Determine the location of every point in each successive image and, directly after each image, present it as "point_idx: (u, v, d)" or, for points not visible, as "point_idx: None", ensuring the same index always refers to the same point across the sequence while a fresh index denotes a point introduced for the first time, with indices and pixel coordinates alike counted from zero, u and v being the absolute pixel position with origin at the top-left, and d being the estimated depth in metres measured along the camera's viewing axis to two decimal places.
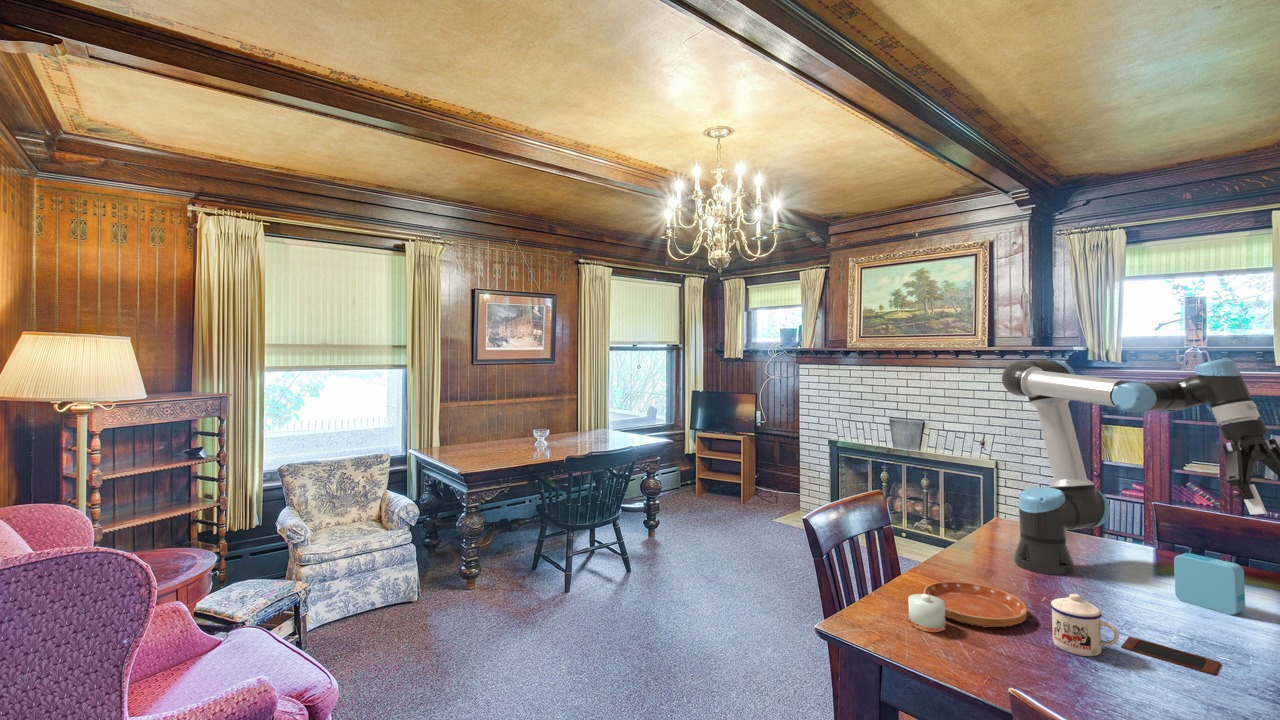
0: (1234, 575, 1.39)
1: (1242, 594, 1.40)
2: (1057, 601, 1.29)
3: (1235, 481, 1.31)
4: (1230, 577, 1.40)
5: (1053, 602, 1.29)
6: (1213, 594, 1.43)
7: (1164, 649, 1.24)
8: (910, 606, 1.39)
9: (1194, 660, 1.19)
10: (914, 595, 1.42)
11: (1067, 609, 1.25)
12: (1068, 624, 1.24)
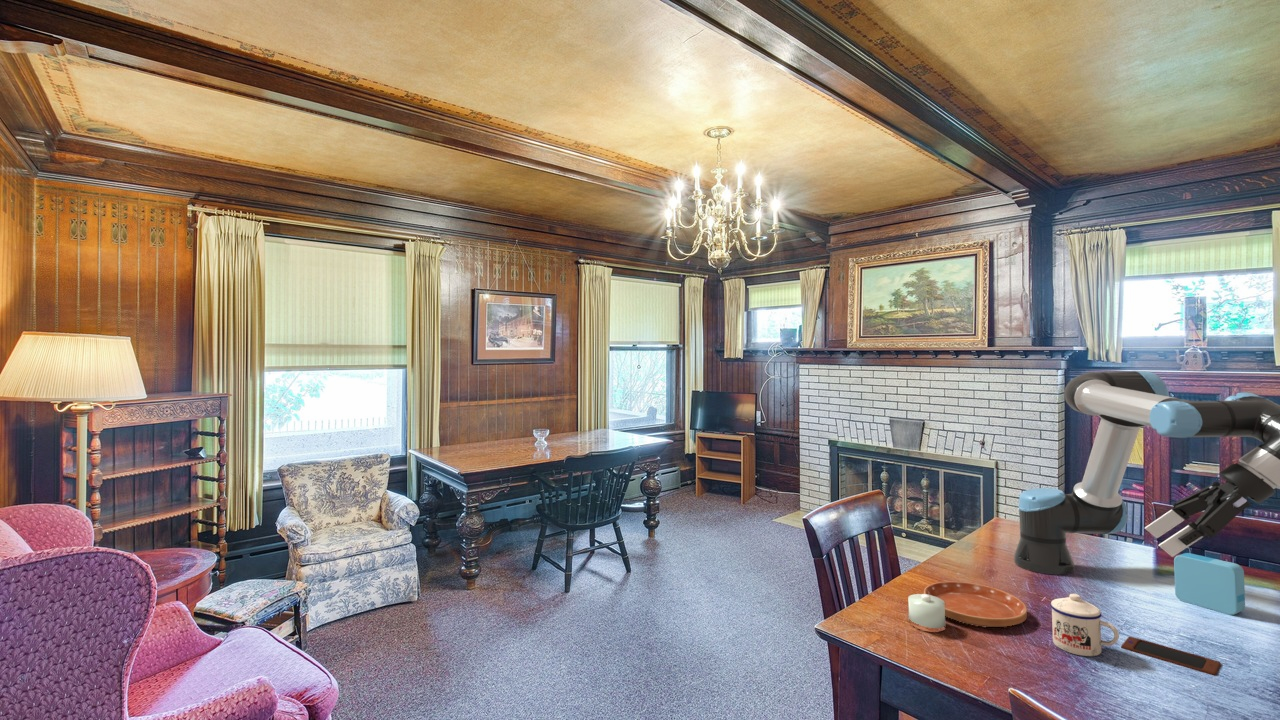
0: (1234, 575, 1.39)
1: (1242, 594, 1.40)
2: (1057, 601, 1.29)
3: (1207, 533, 1.07)
4: (1230, 577, 1.40)
5: (1053, 602, 1.29)
6: (1213, 594, 1.43)
7: (1164, 649, 1.24)
8: (910, 606, 1.39)
9: (1194, 660, 1.19)
10: (914, 595, 1.42)
11: (1067, 609, 1.25)
12: (1068, 624, 1.24)
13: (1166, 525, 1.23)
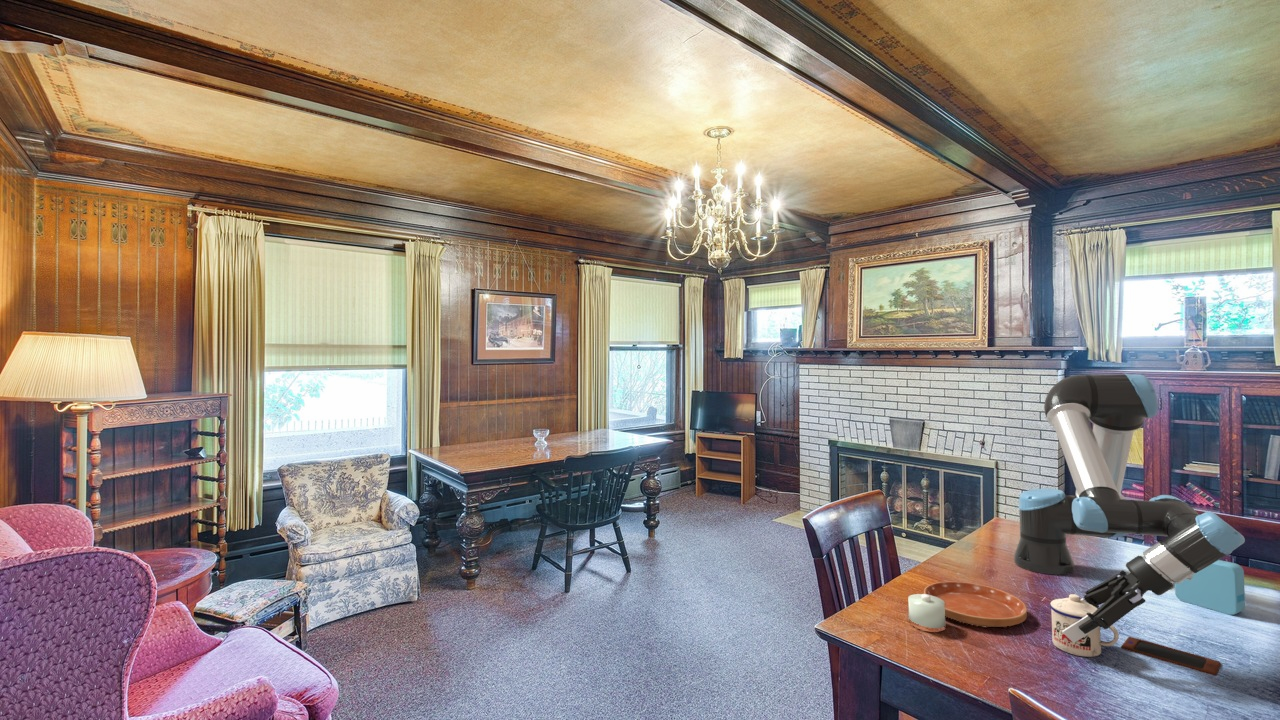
0: (1234, 575, 1.39)
1: (1242, 594, 1.40)
2: (1057, 602, 1.28)
3: (1101, 625, 1.18)
4: (1230, 577, 1.40)
5: (1053, 603, 1.28)
6: (1213, 594, 1.43)
7: (1164, 649, 1.24)
8: (910, 606, 1.39)
9: (1194, 660, 1.19)
10: (914, 595, 1.42)
11: (1067, 610, 1.24)
12: (1068, 625, 1.24)
13: None
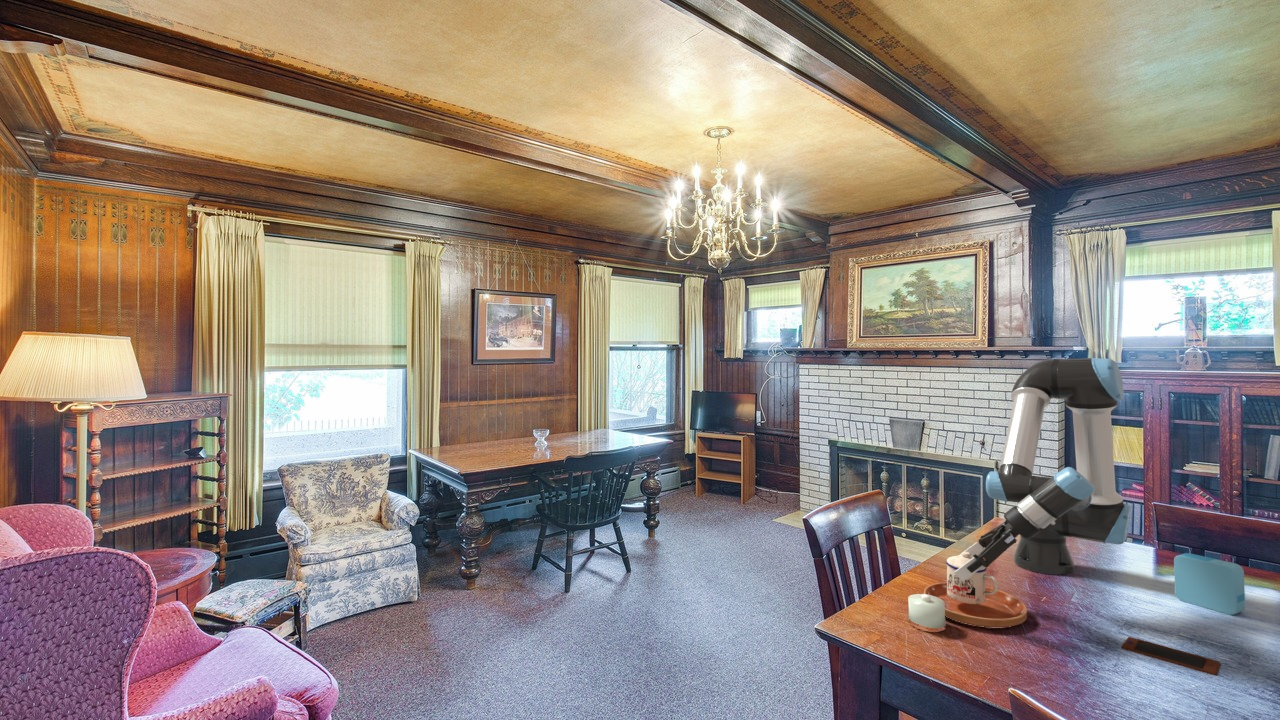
0: (1234, 575, 1.39)
1: (1242, 594, 1.40)
2: (951, 558, 1.48)
3: (983, 564, 1.36)
4: (1230, 577, 1.40)
5: (948, 559, 1.48)
6: (1213, 594, 1.43)
7: (1164, 649, 1.24)
8: (910, 606, 1.39)
9: (1195, 660, 1.19)
10: (914, 595, 1.42)
11: (957, 564, 1.44)
12: (958, 577, 1.44)
13: (973, 554, 1.51)
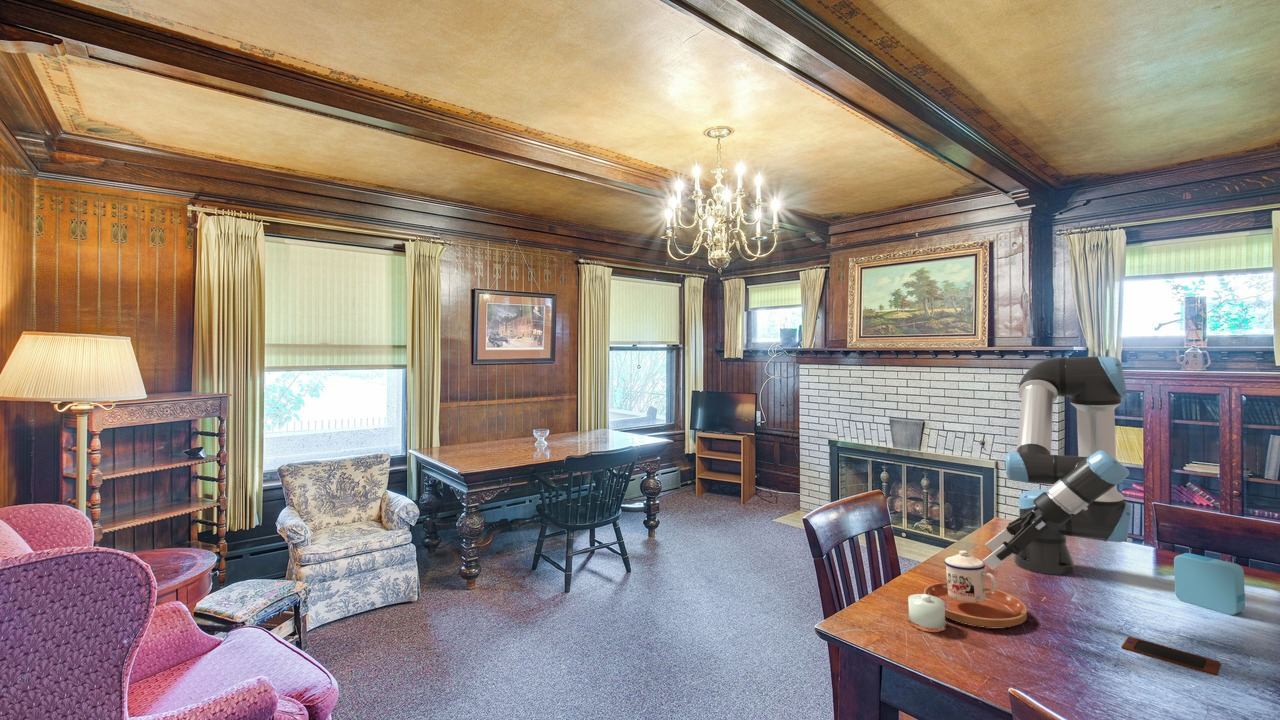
0: (1234, 575, 1.39)
1: (1242, 594, 1.40)
2: (950, 557, 1.49)
3: (1013, 551, 1.32)
4: (1230, 577, 1.40)
5: (946, 558, 1.49)
6: (1213, 594, 1.43)
7: (1164, 649, 1.24)
8: (910, 606, 1.39)
9: (1195, 660, 1.19)
10: (914, 595, 1.42)
11: (954, 563, 1.45)
12: (956, 575, 1.45)
13: (1001, 542, 1.47)
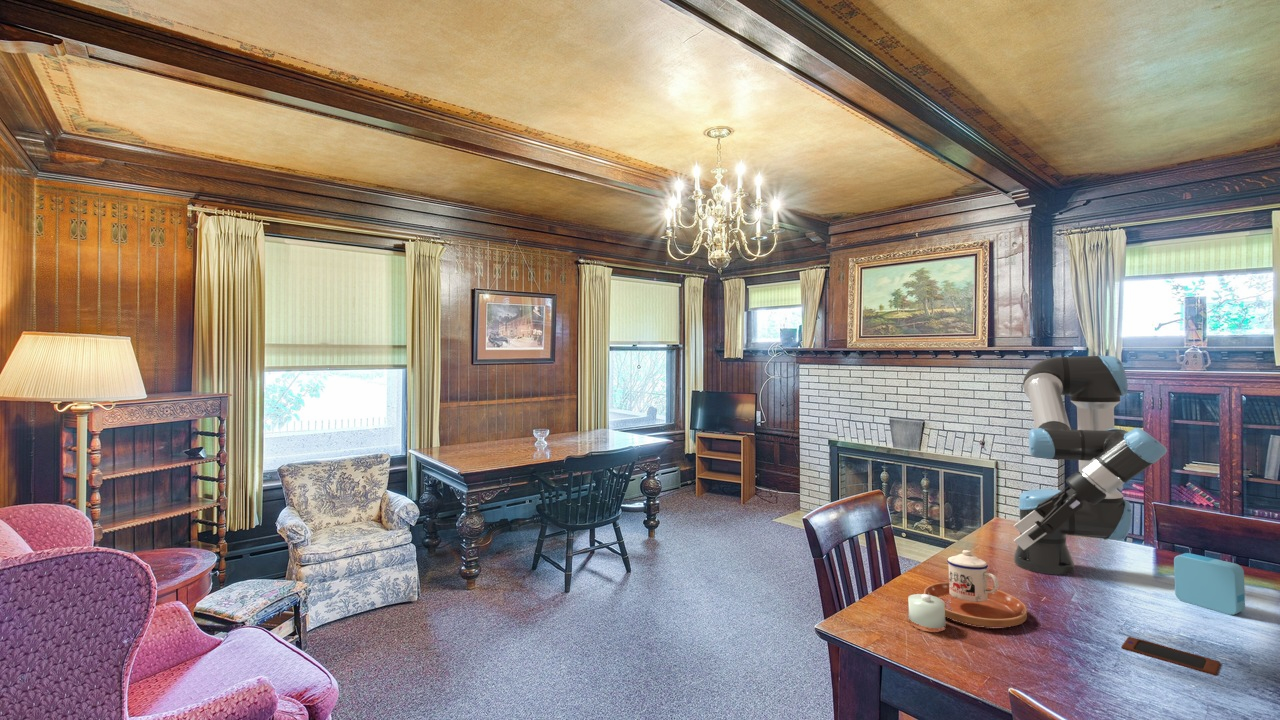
0: (1234, 575, 1.39)
1: (1242, 594, 1.40)
2: (953, 556, 1.49)
3: (1047, 530, 1.29)
4: (1230, 577, 1.40)
5: (949, 557, 1.49)
6: (1213, 594, 1.43)
7: (1164, 649, 1.24)
8: (910, 606, 1.39)
9: (1195, 660, 1.19)
10: (914, 595, 1.42)
11: (956, 561, 1.45)
12: (957, 574, 1.45)
13: (1030, 523, 1.44)
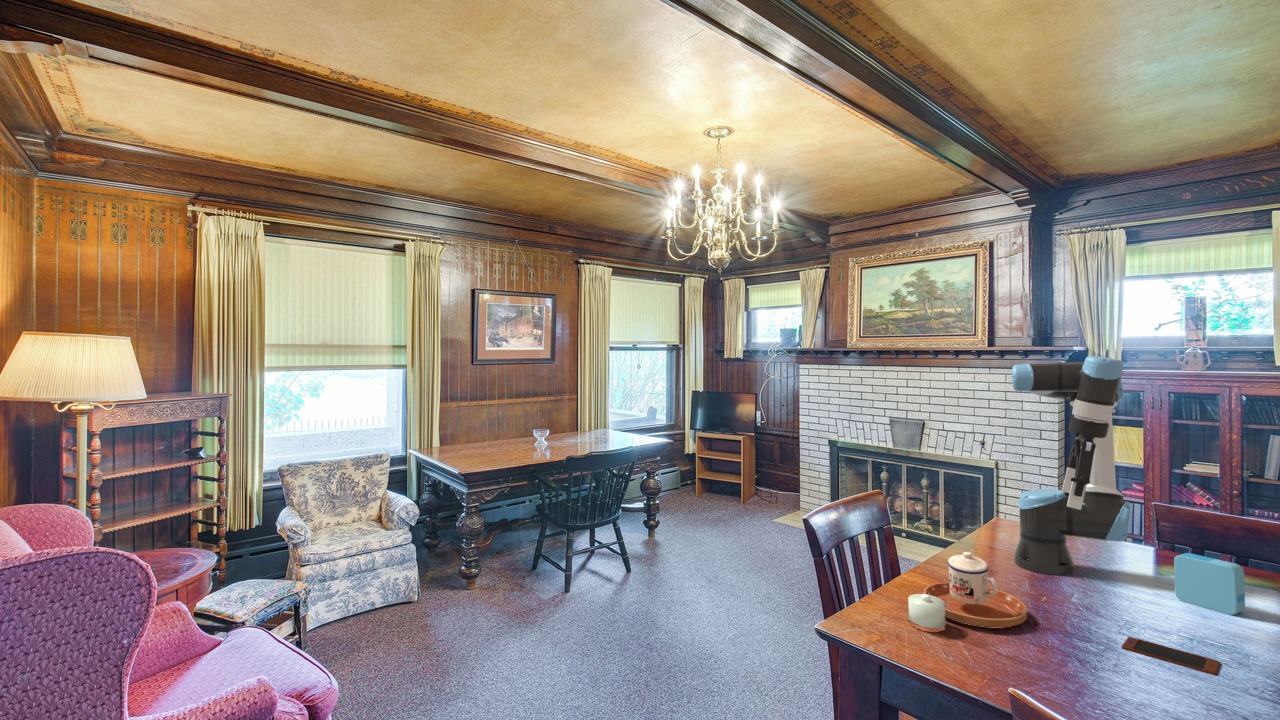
0: (1234, 575, 1.39)
1: (1242, 594, 1.40)
2: (953, 557, 1.48)
3: (1084, 482, 1.33)
4: (1230, 577, 1.40)
5: (950, 558, 1.48)
6: (1213, 594, 1.43)
7: (1164, 649, 1.24)
8: (910, 606, 1.39)
9: (1195, 660, 1.19)
10: (914, 595, 1.42)
11: (955, 565, 1.44)
12: (956, 577, 1.44)
13: (1072, 481, 1.48)
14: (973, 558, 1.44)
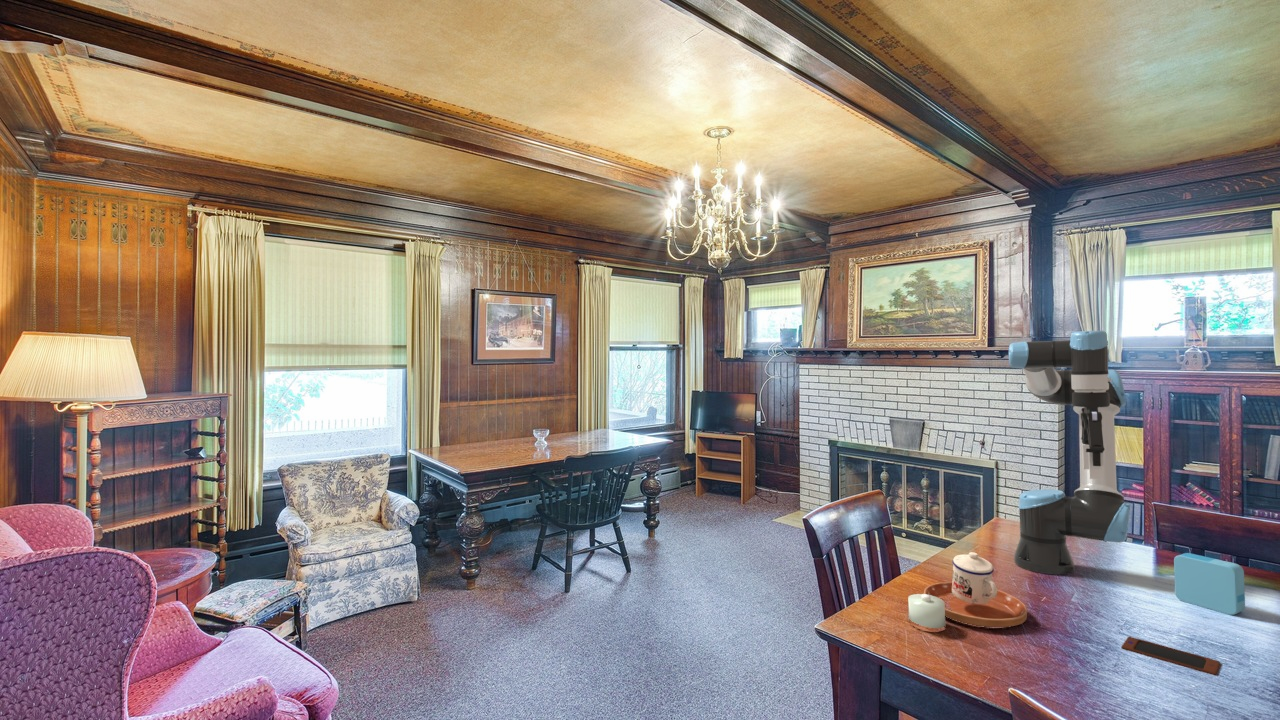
0: (1234, 575, 1.39)
1: (1242, 594, 1.40)
2: (960, 555, 1.48)
3: (1098, 450, 1.36)
4: (1230, 577, 1.40)
5: (957, 556, 1.48)
6: (1213, 594, 1.43)
7: (1164, 649, 1.24)
8: (910, 606, 1.39)
9: (1195, 660, 1.19)
10: (914, 595, 1.42)
11: (958, 563, 1.44)
12: (957, 574, 1.45)
13: None
14: (978, 559, 1.44)
